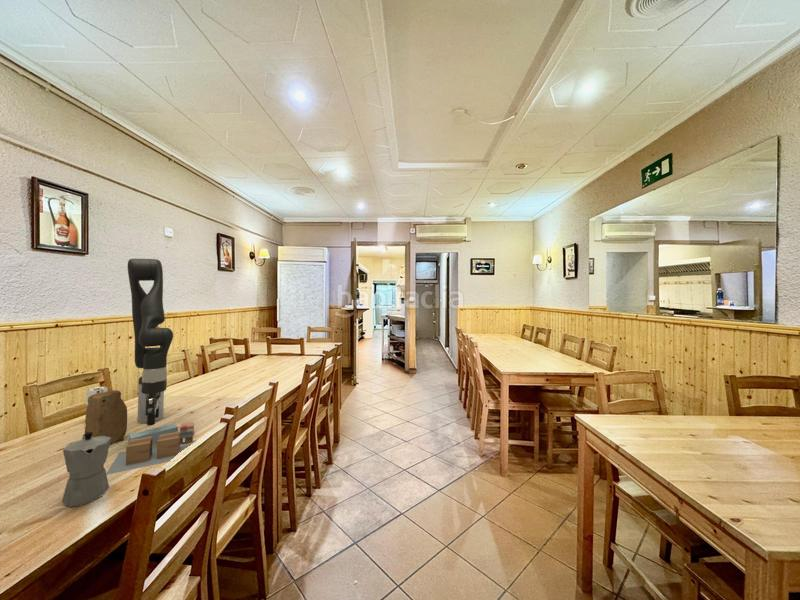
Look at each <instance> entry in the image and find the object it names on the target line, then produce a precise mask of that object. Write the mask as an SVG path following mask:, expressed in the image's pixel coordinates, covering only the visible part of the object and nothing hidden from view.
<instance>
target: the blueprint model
mask: <svg viewBox="0 0 800 600" xmlns="http://www.w3.org/2000/svg"><path fill="white" fill-rule="evenodd" d="M178 432H180V446H186V445H191V444H192V443H194V442H195V443H196V438H194V435H193V429H191V430H187V425H184V426H181V431H180V430H178ZM184 440H185V441H184Z"/></svg>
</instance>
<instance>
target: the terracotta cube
mask: <svg viewBox="0 0 800 600" xmlns="http://www.w3.org/2000/svg"><path fill="white" fill-rule="evenodd" d="M184 425H187V430H191V429H193V436H194V433H195V421H190V422H185V423H180V426H179V431H181V426H184Z"/></svg>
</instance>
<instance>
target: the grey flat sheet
mask: <svg viewBox="0 0 800 600" xmlns="http://www.w3.org/2000/svg"><path fill="white" fill-rule="evenodd" d="M183 441H185V439H183ZM188 446H190V445H186V446H180V449H179V452H181V451H182V450H184V449H185V448H187V447H188ZM175 456H176V455H174V456H169V457H164V458H159V459H157V445H154V446H153V445H152V455H151V457H150V460H149V461H144V462H139V463H134V464H130V465H126V450H125V451H120V452H118V453H117V455H116V457H115V459H114V461H112V464H111V465H110V466H109V469H108V470H107V471H106V474H107V476H108V475H110V474H111V475H112V474H115V473H116V474H117V473H121V472H126V471H130V470H136V469H140V468H146V467H150V466H155V465H159V464H163V463H168V462H171V461H170V460H171V459H173V458H174V457H175Z"/></svg>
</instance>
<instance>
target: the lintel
mask: <svg viewBox="0 0 800 600" xmlns="http://www.w3.org/2000/svg"><path fill="white" fill-rule="evenodd" d="M174 432H179V426H177V424H176V423H171V424H166V425H163V426H159V427H158V426H157V427H154V428H149V429H145V430H142V431H138V432H134V433H130V434H129V433H128V443H129V442H130V440H133V439H139V438H145V437H150V436H153V444H152V445H154V444H157V441H158V438H159V436H160V435H162V434H168V433H174Z"/></svg>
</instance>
